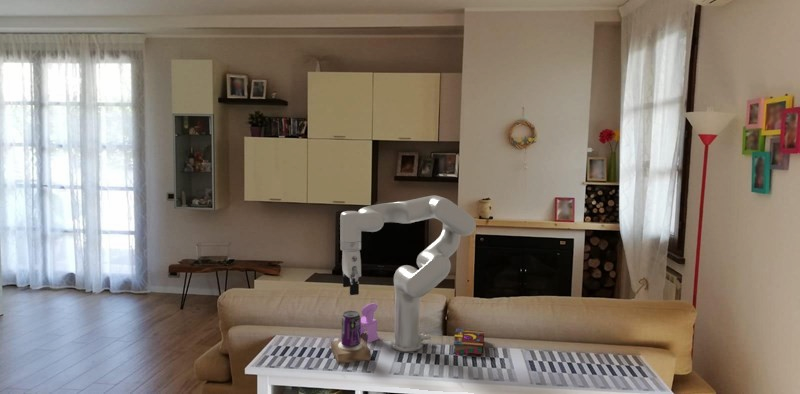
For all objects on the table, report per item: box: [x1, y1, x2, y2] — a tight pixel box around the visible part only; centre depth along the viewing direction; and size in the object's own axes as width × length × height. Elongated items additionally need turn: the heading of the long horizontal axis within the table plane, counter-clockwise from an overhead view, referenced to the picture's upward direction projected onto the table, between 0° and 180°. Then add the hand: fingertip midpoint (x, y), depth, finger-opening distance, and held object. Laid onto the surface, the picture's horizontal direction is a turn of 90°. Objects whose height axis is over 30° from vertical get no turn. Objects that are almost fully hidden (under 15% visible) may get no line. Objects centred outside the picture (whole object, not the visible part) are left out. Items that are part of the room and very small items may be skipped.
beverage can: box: [340, 310, 362, 347], centre depth 200 cm, size 7×7×12 cm
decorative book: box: [453, 328, 485, 357], centre depth 209 cm, size 11×16×5 cm
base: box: [330, 337, 371, 365], centre depth 201 cm, size 12×12×4 cm
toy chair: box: [360, 302, 380, 344], centre depth 216 cm, size 8×9×15 cm
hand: (350, 290), depth 199 cm, fingers open, 9 cm apart
